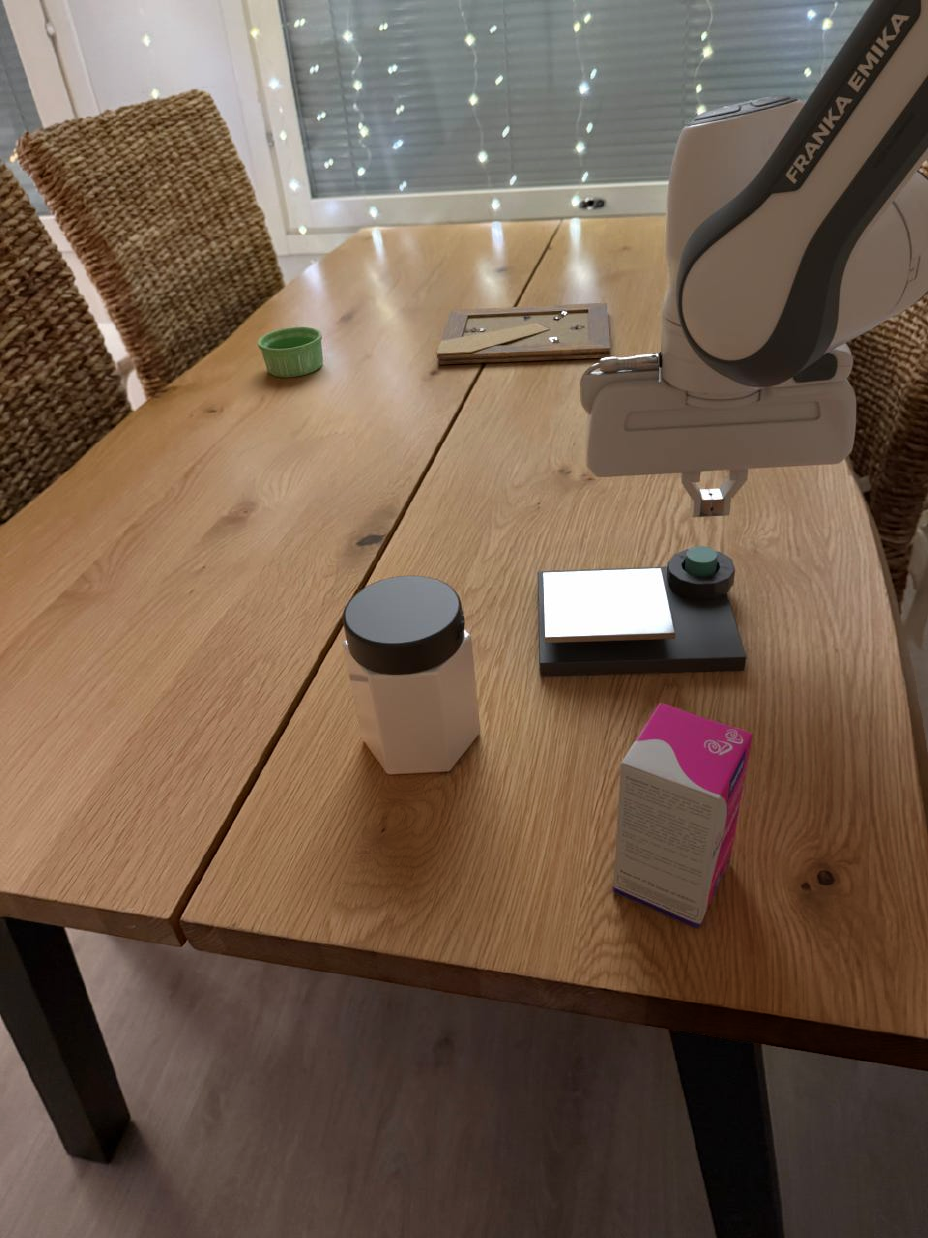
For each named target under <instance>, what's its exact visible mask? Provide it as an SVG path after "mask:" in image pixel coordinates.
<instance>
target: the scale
mask: <svg viewBox="0 0 928 1238" xmlns="http://www.w3.org/2000/svg"><path fill="white" fill-rule="evenodd" d="M689 549H690V548H688V549H684V550H681V551H678V552H677V553H674V554H673V555H672V556H671V557H670V558H669V560H668V561H667V565H666V566H645V567H641V566H640V567H619V568H618V567H617V568H594V569H593V568H591V569H590V568H589V569H568V570H564V569H563V570H542V571H541V570H540V571H537V609H538V610H537V612H538V654H539V655H538V657H539V663H538V664H539V676H540V677H564V676H568V677H569V676H601V675H634V674H635V675H636V674H637V675H639V674H669V673H671V674H672V673H675V674H676V673H705V672H706V673H707V672H709V673H710V672H736V671H739V672H741V671H745V670H746V663H747V662H746V661H747V655H746V652H745V648H744V645H743V641H742V638H741V635H740V631H739V628H738V625H737V622H736V618H735V616H734V612H733V609H732V606H731V602H730V600H729V596H728V593H729V591H730V590H731V589H732V587H733V586H734V583H735V575H736V574H735V573H736V568H735V564H734V562H733V559H732V558H730V557H729V556H727V555H725V553H723V552H721V551H718V550H715V551H716V552H717V554H718V558H717V568H716V572H715V573H714V574H712V575H710V576H696V575H692V574H689V573H687V572H686V570H685V564H686V553H687V551H688V550H689ZM653 568H661V570H662V574H663V579H664V584H665V588H666V593H667V598H668V603H669V607H670V612H671V617H672V621H673V626H674V631H675V639H656V640H625V641H594V642H563V643H545V624H544V590H543V573H550V572H576V571H602V570H627V569H653Z"/></svg>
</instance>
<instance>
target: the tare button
mask: <svg viewBox="0 0 928 1238" xmlns="http://www.w3.org/2000/svg"><path fill="white" fill-rule="evenodd" d="M688 549H689V550H688V551H687V553H686V564H685V570H686V572H687V573H689V574H692V575H696V576H710V575H712V574H714V573H715V572H716V568H717V558H718V554H717V552H716V551H717V550H716V549H714V548H712V547H710V546H705V545H697V546H693V547H690V548H688Z"/></svg>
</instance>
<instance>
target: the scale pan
mask: <svg viewBox="0 0 928 1238" xmlns="http://www.w3.org/2000/svg"><path fill="white" fill-rule="evenodd" d="M543 590H544V624H545V643H563V642H594V641H625V640H656V639H675V631H674V626H673V621H672V617H671V612H670V607H669V603H668V598H667V593H666V588H665V584H664V579H663V574H662V570H661V568H653V569H627V570H602V571H576V572H550V573H543Z"/></svg>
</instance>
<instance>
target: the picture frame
mask: <svg viewBox="0 0 928 1238" xmlns="http://www.w3.org/2000/svg"><path fill="white" fill-rule="evenodd" d="M608 313H609V312H608V302H591V303H590V302H588V303H571V304H570V303H569V304H550V305H527V306H509V307H489V308H469V309H467V308H466V309H451V310H450V312H449V316H448V318H447V322H446V325H445V328H444V331H443V335H442V336H441V340H440V341H439V344H438V348H437V349H436V350H437V351H436V359H437V360H436V363H437V365H459V364H460V365H461V364H481V363H506V362H528V361H532V362H533V361H551V360H552V361H553V360H575V359H576V360H578V359H579V360H580V359H602V358H605V357H611V341H610V328H609V314H608Z"/></svg>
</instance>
